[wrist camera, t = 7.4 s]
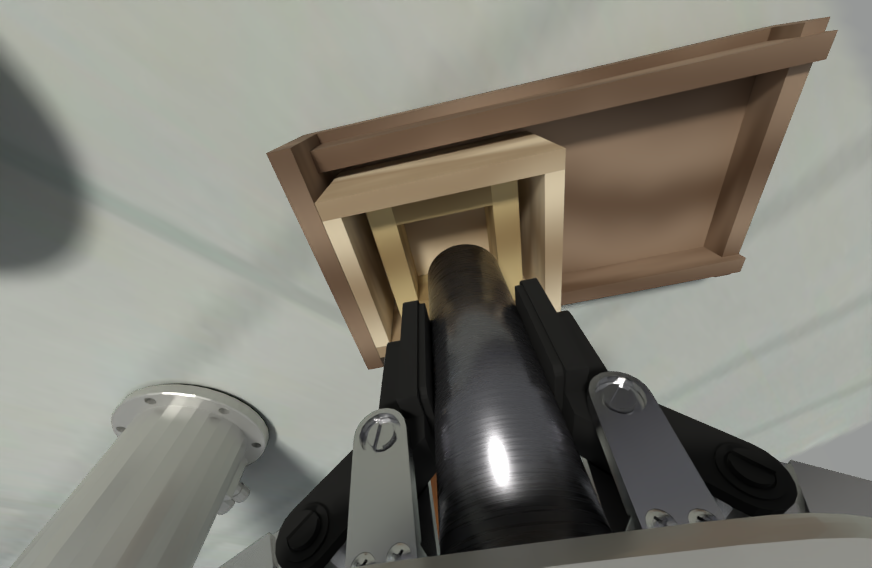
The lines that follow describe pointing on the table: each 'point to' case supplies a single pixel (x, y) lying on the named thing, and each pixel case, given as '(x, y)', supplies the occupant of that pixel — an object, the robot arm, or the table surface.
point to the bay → (604, 158)
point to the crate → (446, 221)
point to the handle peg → (497, 419)
